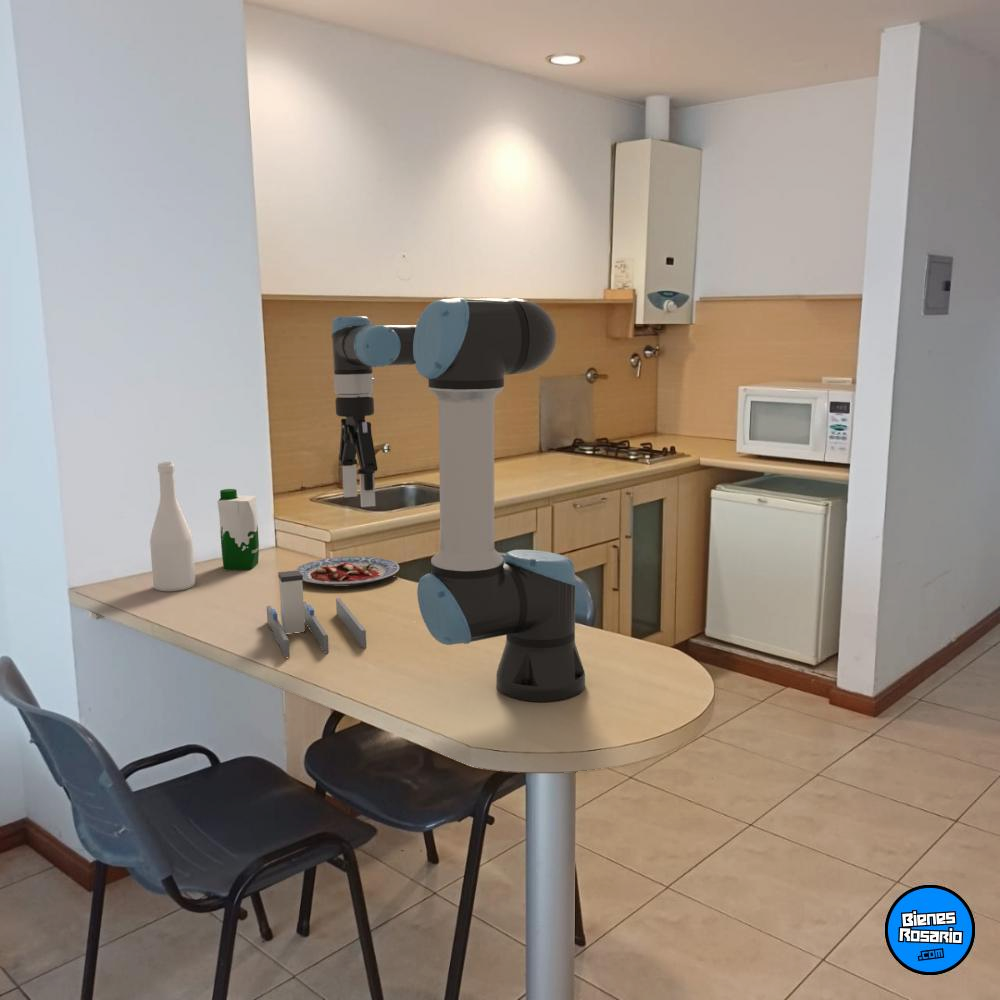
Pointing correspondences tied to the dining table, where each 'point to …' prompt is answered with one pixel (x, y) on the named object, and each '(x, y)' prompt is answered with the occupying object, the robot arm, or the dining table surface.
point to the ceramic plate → (347, 570)
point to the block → (291, 601)
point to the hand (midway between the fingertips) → (359, 501)
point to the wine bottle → (171, 539)
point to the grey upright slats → (317, 626)
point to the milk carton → (238, 530)
